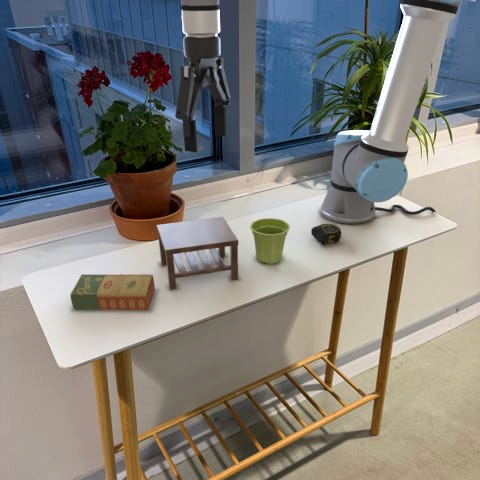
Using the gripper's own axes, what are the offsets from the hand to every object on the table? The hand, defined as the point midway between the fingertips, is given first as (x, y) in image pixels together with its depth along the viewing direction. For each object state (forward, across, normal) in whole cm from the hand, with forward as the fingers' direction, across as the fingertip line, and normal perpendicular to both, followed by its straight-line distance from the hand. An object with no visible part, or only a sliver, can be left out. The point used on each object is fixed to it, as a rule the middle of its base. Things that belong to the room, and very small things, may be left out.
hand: (206, 143), depth 110 cm
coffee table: (+26, +13, +3) cm, 29 cm away
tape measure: (+26, -15, +26) cm, 40 cm away
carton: (+26, +31, -7) cm, 41 cm away
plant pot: (+26, 0, +16) cm, 31 cm away
